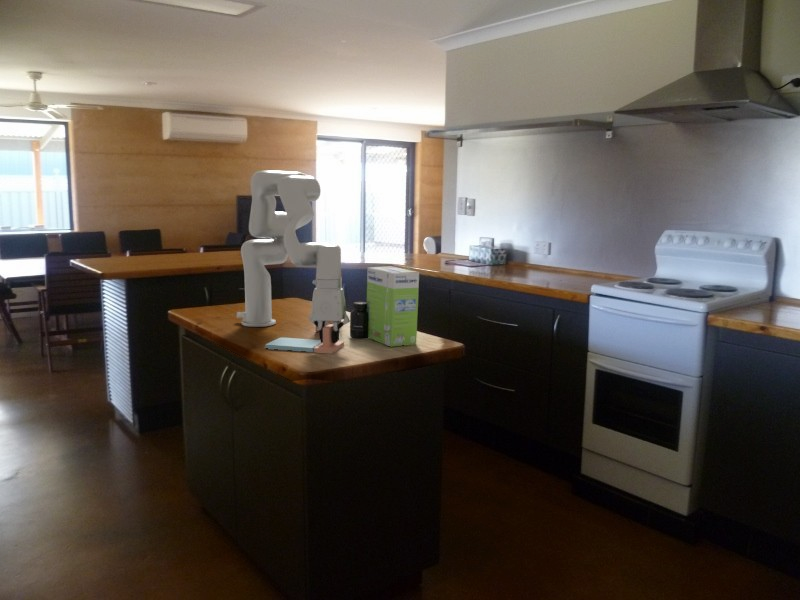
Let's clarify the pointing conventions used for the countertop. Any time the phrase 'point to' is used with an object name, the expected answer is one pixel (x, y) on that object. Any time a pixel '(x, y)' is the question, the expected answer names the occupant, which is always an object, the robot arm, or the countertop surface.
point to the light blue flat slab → (293, 344)
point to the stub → (328, 342)
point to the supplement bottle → (359, 321)
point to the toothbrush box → (392, 305)
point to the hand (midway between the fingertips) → (329, 341)
